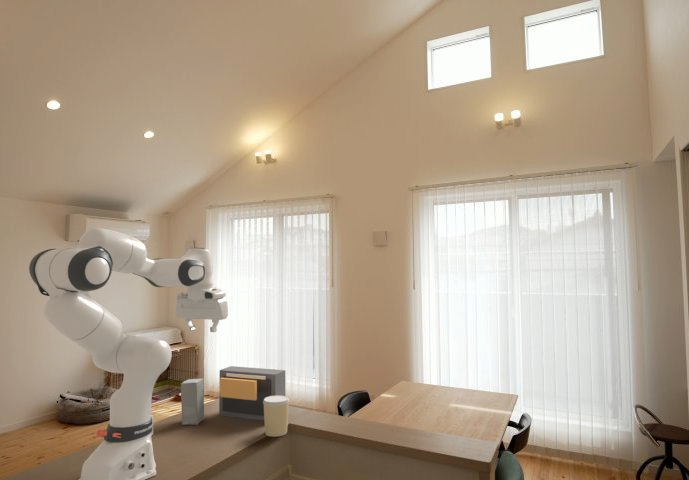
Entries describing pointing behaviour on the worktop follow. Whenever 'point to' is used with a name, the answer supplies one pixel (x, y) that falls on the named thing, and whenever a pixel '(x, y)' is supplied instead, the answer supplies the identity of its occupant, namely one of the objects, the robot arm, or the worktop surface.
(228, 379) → the panel
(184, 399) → the skincare box
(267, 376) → the grey rectangular box
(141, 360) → the robot arm
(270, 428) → the coffee cup
